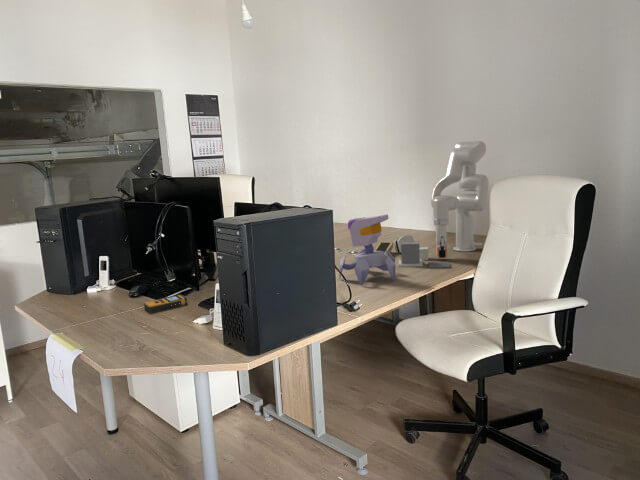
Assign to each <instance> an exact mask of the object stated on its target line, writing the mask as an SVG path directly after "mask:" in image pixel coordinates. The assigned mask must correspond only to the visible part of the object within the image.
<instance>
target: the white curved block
mask: <svg viewBox="0 0 640 480" xmlns="http://www.w3.org/2000/svg"><path fill="white" fill-rule="evenodd" d="M401 242H415V240H414V238H413V236H412V235H403V236H400V237H397V238H396V239H395V240H394V241H393V246H394V249H395V253H396V254H401Z"/></svg>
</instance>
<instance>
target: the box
mask: <svg viewBox="0 0 640 480" xmlns="http://www.w3.org/2000/svg"><path fill="white" fill-rule="evenodd" d="M393 248H394V241H379V242H378V245H377V246H376V247H375V249H374V251H383V252H384V255H385V252H386V250H387V251H388V252H389V253H391V252H392V250H393ZM385 259H386V255H385Z"/></svg>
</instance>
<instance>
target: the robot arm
mask: <svg viewBox="0 0 640 480" xmlns="http://www.w3.org/2000/svg"><path fill="white" fill-rule="evenodd" d="M486 153H487V144H486V143H485V142H484V141H482V140H473V141H471V140H470V141H460V142H457V143H455V145H454V146H453V150H452V151H451V152H450V153H449V155H448V156H449V157H448V161H447V164H446V165H447V166H446V170H445V174H444V176H443V177H442V178H441V179H440V180H439V181H438V182H437V184H436V185H435V186H434V188H433V191H432V194H431V200H430V205H431V207H432V210H433V213H432V214H433V226H435V243H436V244H435V245H439V249H440V250H439V257H440V258H439V259H445V258H444V257H446V254H445V245H447V238H448V237H447V236H448V235H447V226H449V224H450V223H449V221H450V219H449V217H450V216H449V211H454V210H455V211H454V212H455V246H453V247H452V250H453V251H456V252H463V253H464V252H465V253H466V252H474V251H476V250H477V247H482V246H483V243H482V242H475V241H474V217H473V214H472V213H471V212H484V211H485V210H486V209H487V203H488V197H489V196H488V194H489V178H488V177H487V175H485V174H483V173H480V174H479V173H477V171H476V170H477V165H476V164H477V163H479V162H480V160H481V159H482V158H483V157H484V156H485V155H486ZM476 173H477V174H476ZM456 183H458V188H459V190H460V191H462V192H471V193H459V194H456V195H443V194H442V192H443V191H444V190H445V189H446V188H448V187H450V186H451V185H454V184H456ZM472 192H473V193H472ZM474 192H475V193H474Z"/></svg>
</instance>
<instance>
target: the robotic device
mask: <svg viewBox="0 0 640 480" xmlns="http://www.w3.org/2000/svg"><path fill="white" fill-rule="evenodd" d="M389 218H390V217H389V215H388V214H383V215H376V216H369V217H359V218H358V217H357V218H353V219H352V218H351V219H349V220H348V222H347V229H348V230H349V234H350V239H351V245H352V247H353V248H355V247H364V248H362V249H361V250H360V251H359V252H358V254H355V255H354V258H355V262H350V263H345V261H346V255H347V254H345V255H343V257H342V258H341V259H340V262H339V270H338V271H340V272H341V275H340V274H339V273H338V275H339V278H341V277H342V272H343V270H346V271H351V270H354V272H355V273H354V274H355V275H356V278H357V280H358V282H359V285H360V286H361V287H362V286H363V285H364V283H365V281H366V280H367V277H368V275H369V273H370V272H371V269H373V268H377V269H379V270H381V271H384V272H388V273H389V275H390V277H391V280H392V281H391V282H394V281H395V275H396V269H397V268H396V259H395V257H394V256H393V255H392V253H391V252H390V253H389V252H388V251H387V250H386V252H385V255H386V259H385V255H384V252H383V251H374V250H375V249H374V244H377V243H378V240H379V237H380V236H381V235H382V224H381V223H383V222H385V221H387V220H389Z"/></svg>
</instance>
